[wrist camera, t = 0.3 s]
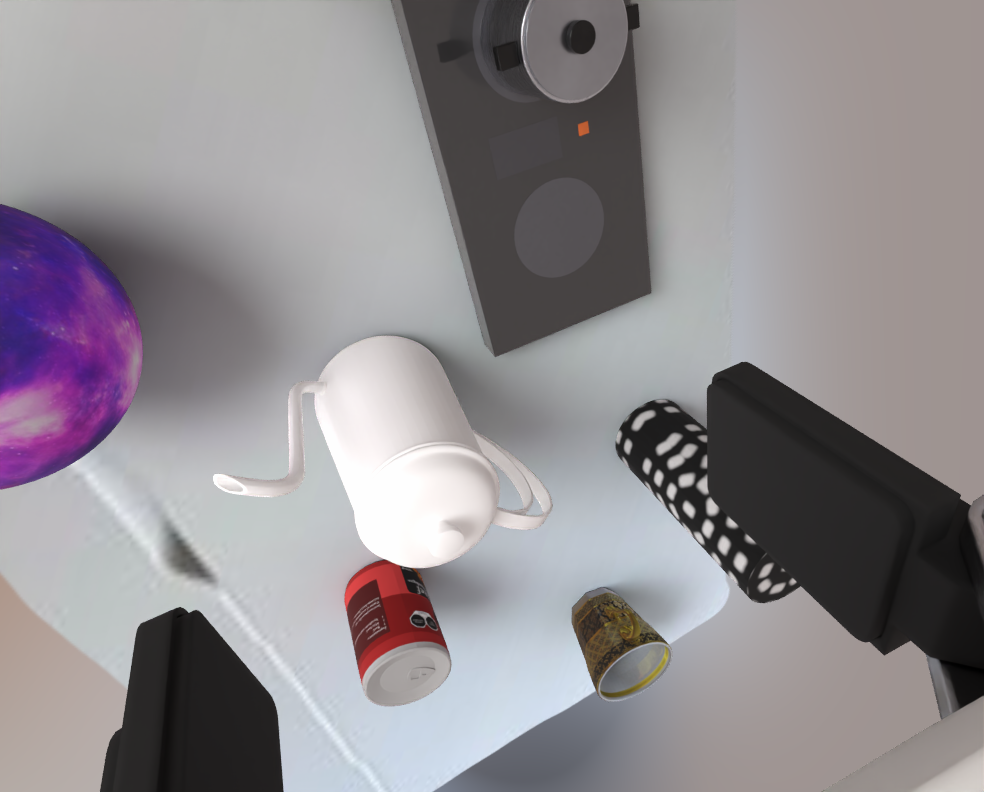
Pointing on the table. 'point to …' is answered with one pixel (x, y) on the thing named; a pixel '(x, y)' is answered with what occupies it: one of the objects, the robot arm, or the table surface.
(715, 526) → the white-spotted black cylinder
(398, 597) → the canned food
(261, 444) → the table surface
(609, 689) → the ceramic cup
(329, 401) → the coffeepot
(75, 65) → the table surface
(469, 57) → the hot plate
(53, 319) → the decorative orb
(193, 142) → the table surface
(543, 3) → the pot
